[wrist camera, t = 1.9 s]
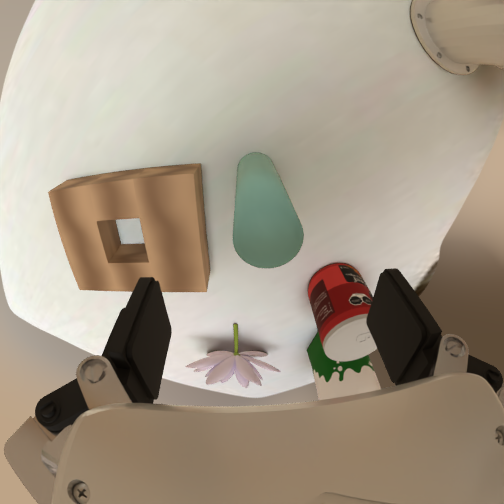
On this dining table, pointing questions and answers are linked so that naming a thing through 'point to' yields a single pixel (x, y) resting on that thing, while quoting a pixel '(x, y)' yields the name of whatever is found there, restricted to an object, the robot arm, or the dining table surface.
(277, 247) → the peg
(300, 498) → the robot arm
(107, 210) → the socket block
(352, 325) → the canned food
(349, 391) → the milk carton
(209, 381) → the water lily
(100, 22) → the dining table surface
